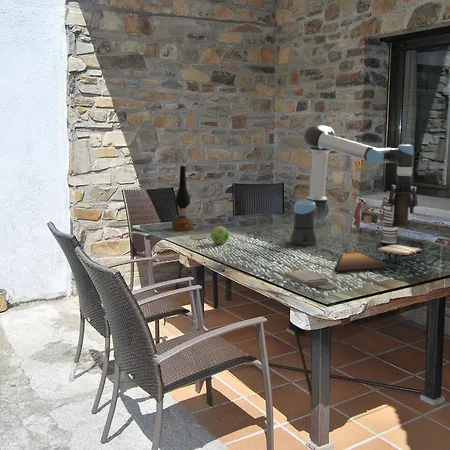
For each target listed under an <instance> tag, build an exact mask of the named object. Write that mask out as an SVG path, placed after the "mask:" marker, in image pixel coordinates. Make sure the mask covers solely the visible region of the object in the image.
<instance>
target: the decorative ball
mask: <svg viewBox="0 0 450 450" xmlns="http://www.w3.org/2000/svg"><path fill="white" fill-rule="evenodd" d="M229 237H230V233H229V231H228V229H227V228H226V227H224V226H220V225H219V226H216V227H214V228H213V229H212V230H211V232H210V239H211V241H212V242H213V243H214V244H217V245H223V244H226V243H227V242H228V240H229Z"/></svg>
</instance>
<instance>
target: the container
mask: <svg viewBox="0 0 450 450" xmlns="http://www.w3.org/2000/svg"><path fill="white" fill-rule="evenodd" d="M408 195H409V196H411V197H412V191H410V192H398V191H397V190H395V193H394V197H395V206H394V219H393V223H392V225H393V226H396V227H397V228H409V227H411V220H408V207H410V206H409V203H408Z"/></svg>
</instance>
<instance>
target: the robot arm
mask: <svg viewBox="0 0 450 450" xmlns="http://www.w3.org/2000/svg"><path fill="white" fill-rule="evenodd" d="M303 140H304V142H305V144H306V145H307V146H308V147H310V149H309V150H310V151H311V152H312V158H311V159H312V160H311V171H310V172H311V173H310V188H309V189H310V191H309V195H308V196H307V197H306V199H305V200H299V201H296V202H295V203H294V206H293V229H292V232H291V236H290V238H289V243H290V244H291V245H296V246H306V247H307V246H309V247H310V246H315V245H318V238H317V235H316V230H315V227H316V226H315V225H316V223H317V222H322V221H323V220H325V219H327V218H328V216H330V212H331V208H330V205H329V203H328V197H326V190H327V189H326V185H327V175H328V173H327V171H328V160H329V159H328V158H329V153H330V152H331V151H332V152H336V153H340V154H343V155H346V156H349V157H353V158H356V159H360V160H362V161H366V162H368V163H369V164H373V165H379V164H387V163H388V164H390V163H391V164H396V165H397V167H396V178H395V179H396V181H395V182H396V183H395V184H392V185H390V192H389V195H388V198H389V200H388V204H391V211H392V218H394V206H395V191H398V192H412V194H411V196H409V195H408V203H409V206H410V207H408V220H410V221H411V220H412V217H413V214H414V209H415V207H418V204H419V203H418V195H417V194H418V193H417V191H418V187H417V186H412V182H413V176H412V175H413V164H414V163H413V161H414V146H413V145H412V144H399V145H398V147H397V148H391V147H374V146H370V145H367V144H364V143H360V142H357V141H353V140H350V139H345V138H343V137H339V136H336V133H335V131H334V129H333V128H332V127H330V126H327V125H311V126H309V127H307V128H306V129H305V131H304V133H303ZM410 190H411V191H410ZM393 198H394V199H393Z"/></svg>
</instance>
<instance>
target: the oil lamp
mask: <svg viewBox="0 0 450 450" xmlns="http://www.w3.org/2000/svg"><path fill="white" fill-rule="evenodd" d="M179 167H180V168H179V185H178V189H177V194H176V196H175V200H174V201H175V204H176V206H177V207H178V209H177V211H178V214H179V215H177V214H176V215H175V217H174V218H173V220H172V222H171V223H172V224H171V227H172V228H171V230H172V231H175V232H191V231H194V221H193V220H192V219H190V218H188V217H187V214H188V209H187V207H188V206H190V204H191V198H190V195H189V191H188V188H187V179H186V166H184V165H183V166H181V165H180V166H179Z"/></svg>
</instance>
